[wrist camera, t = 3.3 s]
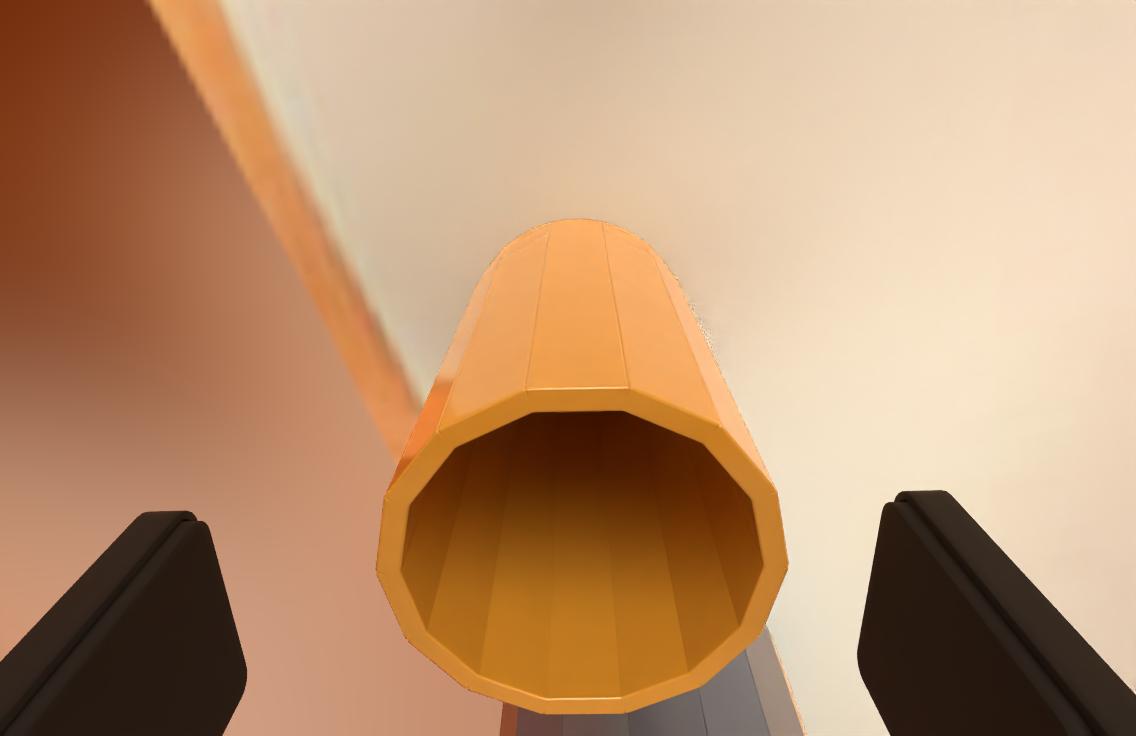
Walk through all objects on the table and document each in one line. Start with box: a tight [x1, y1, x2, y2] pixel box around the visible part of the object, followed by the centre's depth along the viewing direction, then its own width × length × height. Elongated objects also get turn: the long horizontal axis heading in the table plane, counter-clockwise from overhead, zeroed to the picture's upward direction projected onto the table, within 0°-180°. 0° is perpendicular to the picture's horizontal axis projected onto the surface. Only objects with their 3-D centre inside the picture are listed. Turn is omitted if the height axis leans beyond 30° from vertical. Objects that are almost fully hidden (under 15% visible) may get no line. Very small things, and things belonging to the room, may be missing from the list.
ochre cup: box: [376, 219, 789, 715], centre depth 14 cm, size 6×6×10 cm
